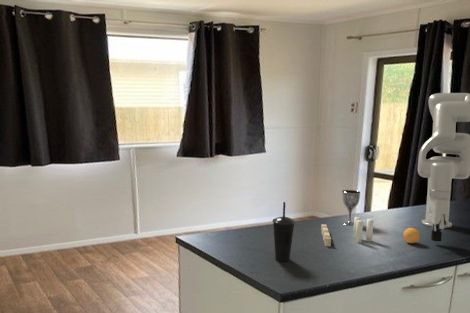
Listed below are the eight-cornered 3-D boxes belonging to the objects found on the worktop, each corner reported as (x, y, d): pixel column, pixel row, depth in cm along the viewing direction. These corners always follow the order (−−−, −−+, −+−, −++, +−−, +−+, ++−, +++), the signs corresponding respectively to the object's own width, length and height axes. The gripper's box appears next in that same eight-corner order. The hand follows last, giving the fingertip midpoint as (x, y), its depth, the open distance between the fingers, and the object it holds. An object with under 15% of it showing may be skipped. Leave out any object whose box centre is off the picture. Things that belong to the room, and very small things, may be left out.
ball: (400, 240, 168) (401, 225, 167) (416, 241, 167) (417, 226, 166) (405, 245, 162) (406, 230, 161) (421, 246, 161) (422, 230, 160)
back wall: (321, 231, 178) (321, 224, 178) (325, 231, 178) (326, 224, 178) (325, 246, 158) (325, 238, 158) (330, 246, 158) (331, 238, 158)
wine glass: (344, 220, 197) (345, 189, 195) (361, 223, 192) (362, 191, 191) (337, 223, 190) (339, 191, 189) (354, 227, 186) (356, 193, 184)
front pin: (365, 239, 168) (366, 219, 167) (371, 240, 167) (372, 219, 166) (366, 241, 165) (367, 220, 164) (372, 241, 165) (373, 220, 164)
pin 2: (354, 241, 166) (355, 220, 165) (361, 241, 165) (362, 220, 164) (355, 242, 163) (357, 221, 162) (362, 243, 163) (363, 222, 162)
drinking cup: (296, 257, 146) (298, 201, 143) (289, 264, 139) (291, 205, 136) (275, 254, 149) (277, 199, 146) (268, 260, 142) (269, 203, 140)
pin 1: (352, 237, 171) (354, 216, 170) (358, 237, 170) (360, 217, 169) (353, 239, 168) (354, 218, 167) (359, 239, 168) (361, 218, 167)
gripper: (423, 190, 169) (419, 234, 171) (436, 197, 154) (432, 246, 156) (442, 191, 168) (439, 235, 170) (457, 198, 153) (453, 247, 155)
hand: (436, 240), depth 163 cm, fingers closed
